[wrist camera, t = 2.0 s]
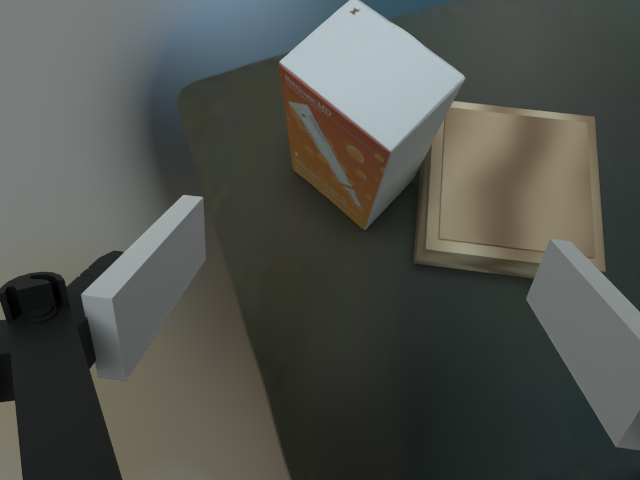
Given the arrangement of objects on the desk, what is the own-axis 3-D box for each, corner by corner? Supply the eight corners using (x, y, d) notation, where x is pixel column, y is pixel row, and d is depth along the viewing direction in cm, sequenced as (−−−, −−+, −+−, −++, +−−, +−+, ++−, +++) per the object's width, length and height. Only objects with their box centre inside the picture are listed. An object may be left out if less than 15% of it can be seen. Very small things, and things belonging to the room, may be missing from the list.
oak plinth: (564, 144, 35) (597, 114, 31) (571, 283, 32) (608, 270, 28) (422, 127, 36) (435, 96, 32) (413, 263, 32) (426, 248, 28)
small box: (291, 171, 34) (274, 59, 22) (342, 122, 36) (353, -9, 23) (364, 234, 33) (391, 153, 20) (415, 180, 34) (470, 73, 22)
